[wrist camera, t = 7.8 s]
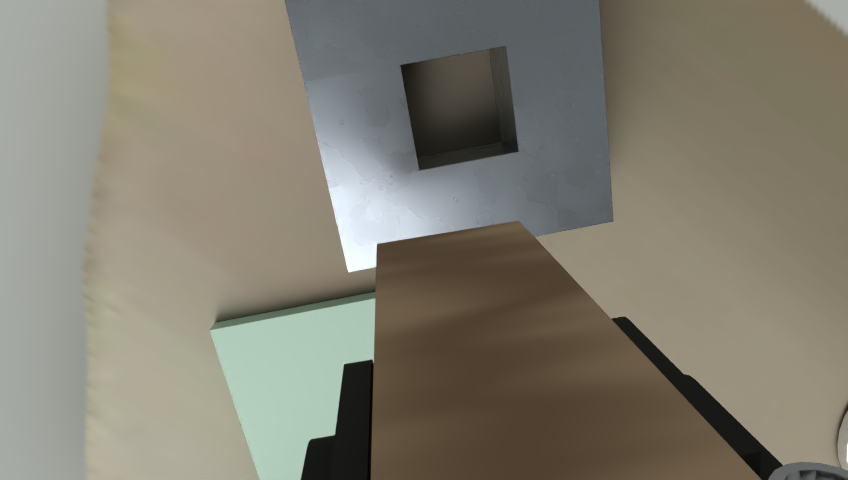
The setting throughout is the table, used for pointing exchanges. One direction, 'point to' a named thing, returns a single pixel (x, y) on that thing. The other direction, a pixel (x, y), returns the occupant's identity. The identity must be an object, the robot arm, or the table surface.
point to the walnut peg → (518, 374)
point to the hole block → (466, 168)
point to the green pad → (292, 375)
